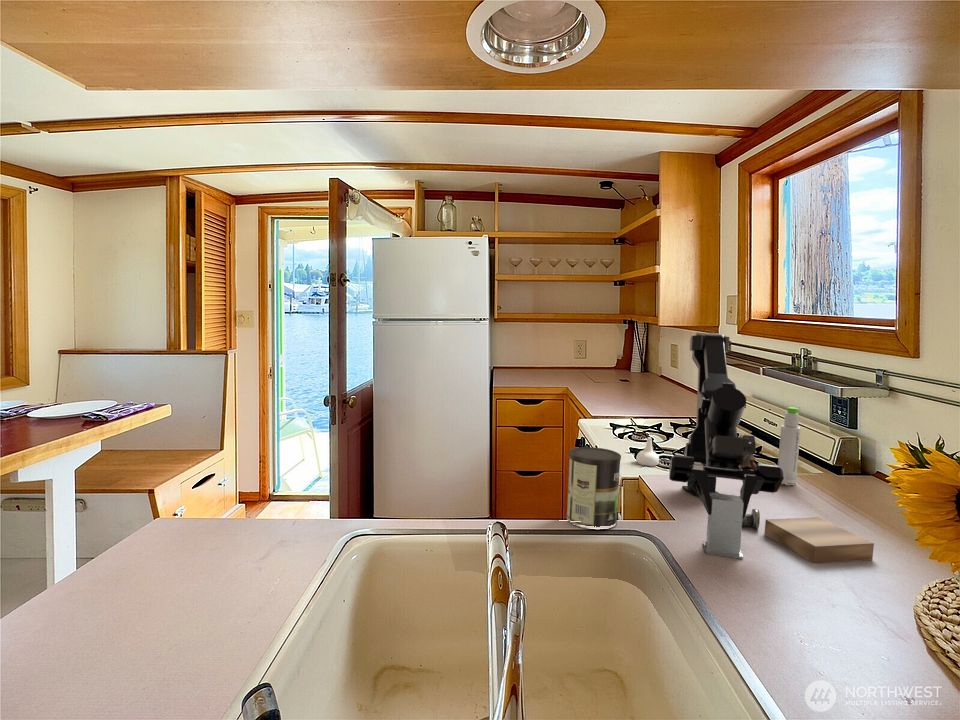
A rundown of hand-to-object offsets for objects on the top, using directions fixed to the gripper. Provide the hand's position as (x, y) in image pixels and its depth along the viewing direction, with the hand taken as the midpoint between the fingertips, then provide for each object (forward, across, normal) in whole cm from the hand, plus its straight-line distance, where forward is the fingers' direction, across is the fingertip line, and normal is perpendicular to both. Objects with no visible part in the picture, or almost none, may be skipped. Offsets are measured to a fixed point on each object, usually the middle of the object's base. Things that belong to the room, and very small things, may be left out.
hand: (726, 515), depth 91 cm
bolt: (-7, +5, +17) cm, 19 cm away
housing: (+4, 0, +6) cm, 7 cm away
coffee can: (0, -24, +10) cm, 26 cm away
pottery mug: (-38, +12, +48) cm, 63 cm away
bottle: (-32, +23, +42) cm, 58 cm away
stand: (-2, +17, +12) cm, 21 cm away
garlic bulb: (-35, -12, +45) cm, 58 cm away
